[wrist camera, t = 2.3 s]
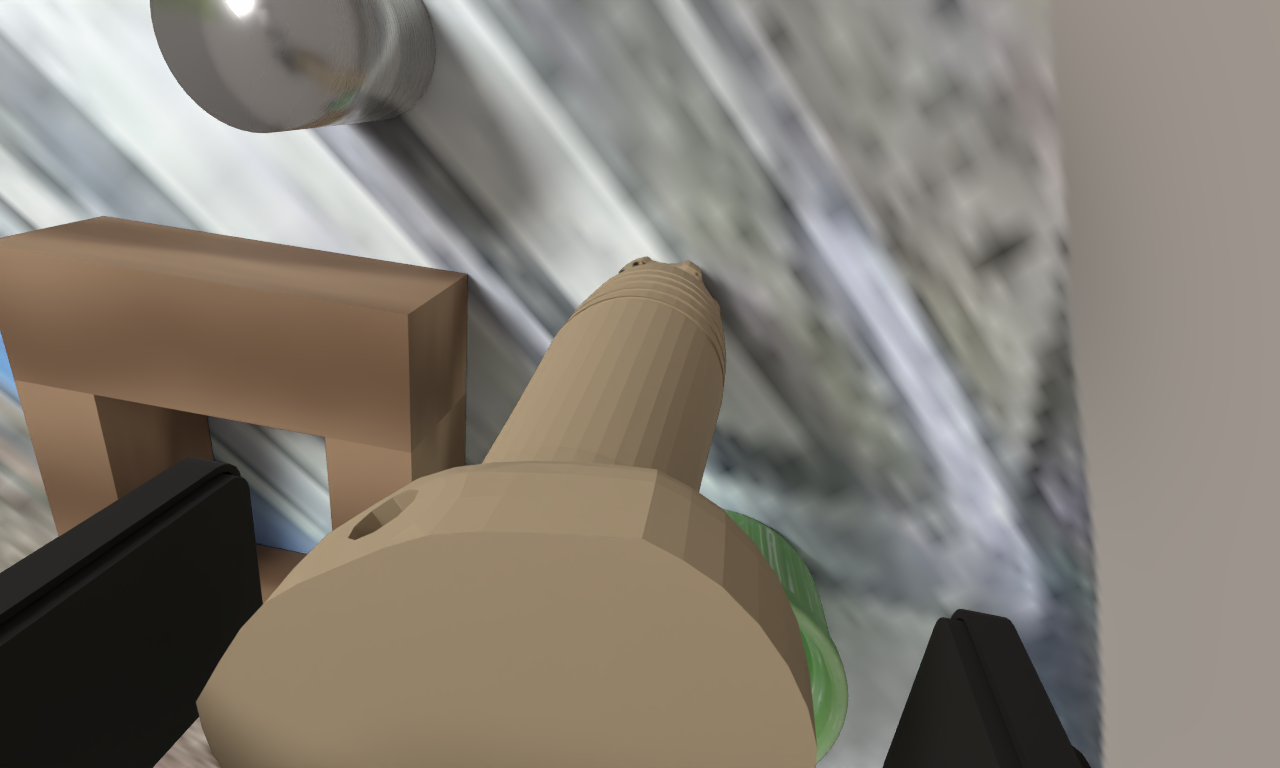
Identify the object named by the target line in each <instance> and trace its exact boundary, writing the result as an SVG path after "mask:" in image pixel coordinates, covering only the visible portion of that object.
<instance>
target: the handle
mask: <svg viewBox="0 0 1280 768" xmlns="http://www.w3.org/2000/svg"><path fill="white" fill-rule="evenodd" d="M725 369H726V352H725V338H724V331H723V326H722V322H721V312H720V306H719V304H718V302H717V300H715V299H713V298H712V297H711V295H710V293H709V292H708V290H707V289H706V288H705V286H704V283H703V280H702V271H701V269H700V268H699V267H698V266H697V265H695V264H694V263H692V262H691V261H685V262H683V263H677V264H666V263H660V262H656V261H653V260H651V259H650V258H649V257H642V258H639V259H636V260H633V261H632V262H630V263H629V264H627V265H626V266H625V267H623V268H622V269H621V270H620V271H619V274H617V275H616V276H614V277H612V278H611V279H609V280H608V281H607V282H605V283H604V284H603V285H602V286H601V287H599V288H598V289H597V290H596V291H595V292H594V293H593V294H592V295H590V296H589V297H588V299H586V300H585V301H584V302H583V303H582V304H581V305H580V306H579V307H578V309H577V310H576V311H575V312H574V313H573V315H572V316H571V317H570V318H569V320H568V321H567V322H566V323H565V325H564V326H563V327H562V328H561V329H560V331H559V332H558V333H557V335H556V336H555V338H554V339H553V341H552V343H551V345H550V346H549V348H548V350H547V352H546V353H545V355H544V357H543V359H542V361H541V362H540V364H539V366H538V368H537V369H536V371H535V373H534V375H533V377H532V378H531V380H530V382H529V384H528V385H527V387H526V389H525V391H524V392H523V394H522V396H521V398H520V400H519V401H518V403H517V405H516V407H515V408H514V410H513V412H512V413H511V415H510V417H509V418H508V420H507V422H506V423H505V425H504V427H503V428H502V430H501V432H500V434H499V435H498V437H497V439H496V440H495V442H494V444H493V445H492V447H491V449H490V450H489V452H488V454H487V455H486V457H485V459H484V461H483V462H482V464H477V465H469V466H461V467H454V468H450V469H447V470H444V471H441V472H437V473H434V474H431V475H427V476H424V477H421V478H418V479H416V480H415V481H413V482H411V483H410V484H408V485H406V486H405V487H403V488H401V489H400V490H398V491H396V492H395V493H393V494H391V495H389V496H388V497H386V498H384V499H383V500H381V501H379V502H378V503H376V504H374V505H373V506H371V507H370V508H368V509H366V510H365V511H363V512H362V513H360V514H359V515H357V516H355V517H354V518H352V519H351V520H349V521H347V522H346V523H344V524H343V525H341V526H340V527H338V528H336V529H335V530H333V531H332V532H330V533H329V534H327V535H326V536H325V537H324V538H323V539H322V540H321V541H320V542H319V543H318V544H317V545H316V546H315V547H314V548H313V549H312V550H311V551H310V552H309V553H308V554H307V555H306V557H305V558H304V559H303V560H302V561H301V562H300V563H299V564H298V565H297V566H296V567H295V568H294V569H293V570H292V571H291V572H290V573H289V575H288V576H287V577H286V578H285V579H284V580H283V582H282V583H281V584H280V585H279V586H278V588H277V589H276V590H275V591H274V592H273V593H272V595H271V596H270V597H269V598H268V599H267V601H266V602H265V603H264V604H263V605H262V606H261V607H260V608H259V609H258V610H257V611H256V613H255V614H254V615H253V616H252V617H251V618H250V619H249V620H248V621H247V622H246V623H245V624H244V625H243V627H242V628H241V629H240V630H239V632H238V633H237V635H236V637H235V638H234V640H233V641H232V643H231V644H230V646H229V647H228V649H227V651H226V652H225V654H224V655H223V657H222V658H221V660H220V661H219V663H218V665H217V667H216V668H215V670H214V672H213V674H212V675H211V677H210V679H209V680H208V682H207V684H206V686H205V687H204V689H203V691H202V692H201V694H200V696H199V698H198V699H197V701H196V705H197V709H198V713H199V717H200V721H201V725H202V729H203V731H204V734H205V736H206V739H207V741H208V744H209V746H210V748H211V751H212V753H213V755H214V757H215V758H216V760H217V761H218V763H219V764H220V766H221V767H222V768H816V757H817V741H816V730H815V719H814V709H813V699H812V691H811V682H810V673H809V668H808V664H807V660H806V655H805V651H804V646H803V642H802V637H801V633H800V628H799V624H798V621H797V619H796V616H795V614H794V612H793V610H792V607H791V605H790V603H789V601H788V598H787V596H786V594H785V592H784V589H783V587H782V585H781V583H780V581H779V578H778V577H777V575H776V574H775V572H774V571H773V569H772V568H771V567H770V565H769V564H768V562H767V561H766V559H765V558H764V556H763V555H762V553H761V552H760V550H759V549H758V547H757V546H756V544H755V543H754V541H753V540H752V539H751V538H750V537H749V536H748V535H747V534H746V533H745V532H744V531H743V530H742V529H741V528H740V527H739V526H738V525H737V524H736V522H735V521H734V520H733V519H732V518H731V517H730V516H729V515H728V514H727V513H726V512H725V511H724V510H723V509H722V508H720V507H719V506H717V505H716V504H714V503H713V502H712V501H710V500H709V499H707V498H706V497H704V496H703V495H701V494H700V493H699V490H700V486H701V481H702V477H703V473H704V469H705V465H706V461H707V457H708V454H709V450H710V446H711V442H712V438H713V434H714V430H715V426H716V422H717V419H718V415H719V411H720V407H721V403H722V396H723V387H724V379H725Z"/></svg>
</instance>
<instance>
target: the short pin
mask: <svg viewBox="0 0 1280 768" xmlns="http://www.w3.org/2000/svg"><path fill="white" fill-rule="evenodd" d="M150 8H151V18H152V23H153V28H154V32H155V35H156V39H157V42H158V45H159V48H160V50H161V52H162V55H163V57H164V59H165V61H166V63H167V65H168V67H169V69H170V71H171V72H172V74H173V75H174V77H175V78H176V80H177V81H178V83H179V84H180V86H181V87H182V88H183V89H184V90H185V92H186V93H187V94H188V95H189V96H190V97H191V98H192V99H193V100H194V101H195V102H196V103H197V104H198V105H199V106H200V107H201V108H202V109H204V110H205V111H206V112H207V113H209V114H210V115H212V116H213V117H215V118H216V119H218V120H219V121H221V122H223V123H225V124H227V125H229V126H232V127H235V128H237V129H240V130H244V131H249V132H255V133H271V132H281V131H290V130H299V129H308V128H317V127H326V126H335V125H344V124H353V123H362V122H371V121H379V120H387V119H391V118H394V117H397V116H399V115H402V114H403V113H405V112H406V111H408V110H409V109H411V108H412V107H413V106H414V105H415V104H416V103H417V102H418V101H419V100H420V98H421V97H422V96H423V94H424V92H425V91H426V89H427V87H428V85H429V83H430V80H431V77H432V73H433V69H434V63H435V38H434V33H433V28H432V24H431V21H430V17H429V15H428V13H427V10H426V8H425V6H424V4H423V2H422V0H150Z"/></svg>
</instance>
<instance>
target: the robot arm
mask: <svg viewBox="0 0 1280 768" xmlns="http://www.w3.org/2000/svg"><path fill="white" fill-rule="evenodd" d="M262 605H263V600H262V592H261V584H260V575H259V567H258V558H257V550H256V541H255V533H254V525H253V516H252V508H251V499H250V491H249V486H248V482H247V481H246V480H245V479H244V478H242V477H241V476H240V472H239V471H238V469H237V468H236V467H235V466H233V465H231V464H227V463H222V462H217V461H212V460H207V459H202V458H197V457H188V458H185V459H183V460H181V461H179V462H178V463H176V464H174V465H173V466H171V467H170V468H168V469H166V470H165V471H163V472H162V473H160V474H158V475H157V476H155V477H154V478H152V479H150V480H149V481H147V482H146V483H144V484H142V485H141V486H139V487H137V488H136V489H134V490H133V491H131V492H129V493H128V494H126V495H125V496H123V497H121V498H120V499H118V500H117V501H115V502H113V503H112V504H110V505H109V506H107V507H105V508H104V509H102V510H101V511H99V512H97V513H96V514H94V515H93V516H91V517H89V518H88V519H86V520H85V521H83V522H81V523H80V524H78V525H77V526H75V527H73V528H72V529H70V530H69V531H67V532H65V533H64V534H62V535H61V536H59V537H57V538H56V539H54V540H53V541H51V542H49V543H48V544H46V545H45V546H43V547H41V548H40V549H38V550H37V551H35V552H33V553H32V554H30V555H29V556H27V557H25V558H24V559H22V560H21V561H19V562H17V563H16V564H14V565H13V566H11V567H9V568H8V569H6V570H5V571H3V572H1V573H0V768H153V767H154V766H155V764H156V763H157V762H158V761H159V760H160V759H161V758H162V757H163V756H164V755H165V753H166V752H167V751H168V750H169V749H170V748H171V747H172V746H173V745H174V744H175V742H176V741H177V740H178V739H179V738H180V737H181V736H182V735H183V734H184V733H185V731H186V730H187V729H188V728H189V727H190V726H191V725H192V724H193V723H194V722H195V720H196V719H197V718H198V717H199V713H198V709H197V705H196V701H197V699H198V698H199V696H200V694H201V692H202V691H203V689H204V687H205V686H206V684H207V682H208V680H209V679H210V677H211V675H212V674H213V672H214V670H215V668H216V667H217V665H218V663H219V661H220V660H221V658H222V657H223V655H224V654H225V652H226V651H227V649H228V647H229V646H230V644H231V643H232V641H233V640H234V638H235V637H236V635H237V633H238V632H239V630H240V629H241V628H242V627H243V625H244V624H245V623H246V622H247V621H248V620H249V619H250V618H251V617H252V616H253V615H254V614H255V613H256V611H257V610H258V609H259V608H260V607H261V606H262ZM883 768H1091V767H1090V765H1089V764H1088V762H1087V760H1086V759H1085V757H1084V756H1083V754H1082V753H1081V752H1079V751H1078V750H1077V749H1076V748H1075V747H1073V746H1072V745H1071V743H1070V741H1069V739H1068V737H1067V735H1066V733H1065V731H1064V729H1063V726H1062V724H1061V722H1060V720H1059V718H1058V716H1057V714H1056V712H1055V710H1054V708H1053V706H1052V704H1051V702H1050V699H1049V697H1048V695H1047V693H1046V691H1045V689H1044V687H1043V685H1042V683H1041V681H1040V679H1039V677H1038V675H1037V673H1036V670H1035V668H1034V666H1033V664H1032V662H1031V660H1030V658H1029V656H1028V654H1027V652H1026V650H1025V648H1024V646H1023V643H1022V641H1021V639H1020V637H1019V635H1018V633H1017V631H1016V629H1015V627H1014V625H1013V624H1012V622H1011V621H1010V620H1009V619H1007V618H1005V617H1000V616H995V615H990V614H985V613H980V612H975V611H969V610H964V609H958V610H956V611H955V613H954V614H953V615H952V617H951V619H949V618H944V617H942V618H939V620H938V621H937V622H936V624H935V627H934V629H933V632H932V635H931V637H930V640H929V643H928V645H927V648H926V651H925V654H924V656H923V659H922V662H921V664H920V667H919V670H918V673H917V675H916V678H915V681H914V683H913V686H912V689H911V692H910V694H909V697H908V700H907V702H906V705H905V708H904V711H903V713H902V716H901V719H900V721H899V724H898V727H897V729H896V732H895V735H894V738H893V740H892V743H891V746H890V748H889V751H888V754H887V757H886V759H885V762H884V765H883Z"/></svg>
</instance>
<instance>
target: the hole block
mask: <svg viewBox="0 0 1280 768" xmlns="http://www.w3.org/2000/svg"><path fill="white" fill-rule="evenodd" d="M467 281H468V274H465V273H458V272H452V271H446V270H439V269H433V268H427V267H421V266H414V265H408V264H402V263H395V262H389V261H383V260H377V259H370V258H364V257H358V256H351V255H345V254H339V253H333V252H326V251H320V250H314V249H307V248H301V247H295V246H289V245H282V244H276V243H270V242H263V241H257V240H251V239H245V238H238V237H232V236H226V235H219V234H213V233H207V232H201V231H194V230H188V229H182V228H175V227H169V226H163V225H157V224H150V223H144V222H138V221H131V220H125V219H119V218H113V217H106V216H101V217H97V218H92V219H87V220H83V221H78V222H73V223H68V224H64V225H59V226H54V227H49V228H45V229H40V230H35V231H30V232H26V233H21V234H16V235H11V236H7V237H2V238H0V331H1V335H2V338H3V342H4V345H5V349H6V352H7V356H8V359H9V363H10V366H11V370H12V373H13V377H14V381H15V384H16V388H17V391H18V395H19V398H20V402H21V405H22V409H23V412H24V416H25V419H26V423H27V426H28V430H29V433H30V437H31V441H32V444H33V448H34V451H35V455H36V458H37V462H38V465H39V469H40V472H41V476H42V479H43V483H44V486H45V490H46V494H47V497H48V501H49V504H50V508H51V511H52V515H53V518H54V522H55V525H56V529H57V532H58V536H61V535H62V534H64V533H65V532H67V531H69V530H70V529H72V528H73V527H75V526H77V525H78V524H80V523H81V522H83V521H85V520H86V519H88V518H89V517H91V516H93V515H94V514H96V513H97V512H99V511H101V510H102V509H104V508H105V507H107V506H109V505H110V504H112V503H113V502H115V501H117V500H118V499H120V498H121V497H123V496H125V495H126V494H128V493H129V492H131V491H133V490H134V489H136V488H137V487H139V486H141V485H142V484H144V483H146V482H147V481H149V480H150V479H152V478H154V477H155V476H157V475H158V474H160V473H162V472H163V471H165V470H166V469H168V468H170V467H171V466H173V465H174V464H176V463H178V462H179V461H181V460H183V459H185V458H188V457H197V458H202V459H207V460H212V461H214V458H213V452H212V446H211V440H210V433H209V427H208V421H207V415H208V416H213V417H218V418H224V419H229V420H235V421H240V422H246V423H251V424H257V425H262V426H267V427H273V428H278V429H284V430H289V431H295V432H300V433H305V434H311V435H316V436H322V437H325V446H326V458H327V470H328V482H329V494H330V506H331V519H332V531H333V530H335V529H336V528H338V527H340V526H341V525H343V524H344V523H346V522H347V521H349V520H351V519H352V518H354V517H355V516H357V515H359V514H360V513H362V512H363V511H365V510H366V509H368V508H370V507H371V506H373V505H374V504H376V503H378V502H379V501H381V500H383V499H384V498H386V497H388V496H389V495H391V494H393V493H395V492H396V491H398V490H400V489H401V488H403V487H405V486H406V485H408V484H410V483H411V482H413V481H415V480H416V479H418V478H421V477H424V476H427V475H431V474H434V473H437V472H441V471H444V470H447V469H450V468H454V467H461V466H465V425H466V353H467ZM256 550H257V558H258V567H259V575H260V584H261V592H262V600H263V604H264V603H265V602H266V601H267V599H268V598H269V597H270V596H271V595H272V593H273V592H274V591H275V590H276V589H277V588H278V586H279V585H280V584H281V583H282V582H283V580H284V579H285V578H286V577H287V576H288V575H289V573H290V572H291V571H292V570H293V569H294V568H295V567H296V566H297V565H298V564H299V563H300V562H301V561H302V560H303V559H304V558H305V557H306V555H307V554H303V553H298V552H293V551H288V550H283V549H278V548H273V547H268V546H263V545H258V544H256Z"/></svg>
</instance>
